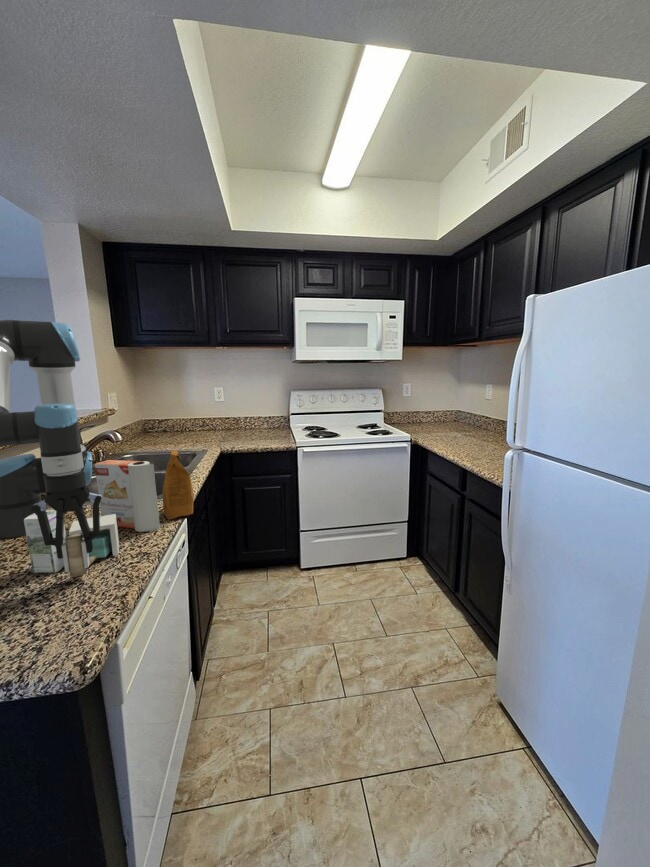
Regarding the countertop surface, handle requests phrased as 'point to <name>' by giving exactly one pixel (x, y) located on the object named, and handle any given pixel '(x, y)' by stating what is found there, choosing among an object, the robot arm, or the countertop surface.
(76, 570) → the tethered block
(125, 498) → the cracker box
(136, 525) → the paper towel roll
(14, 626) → the countertop surface
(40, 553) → the syrup box
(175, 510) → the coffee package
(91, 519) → the cubby
